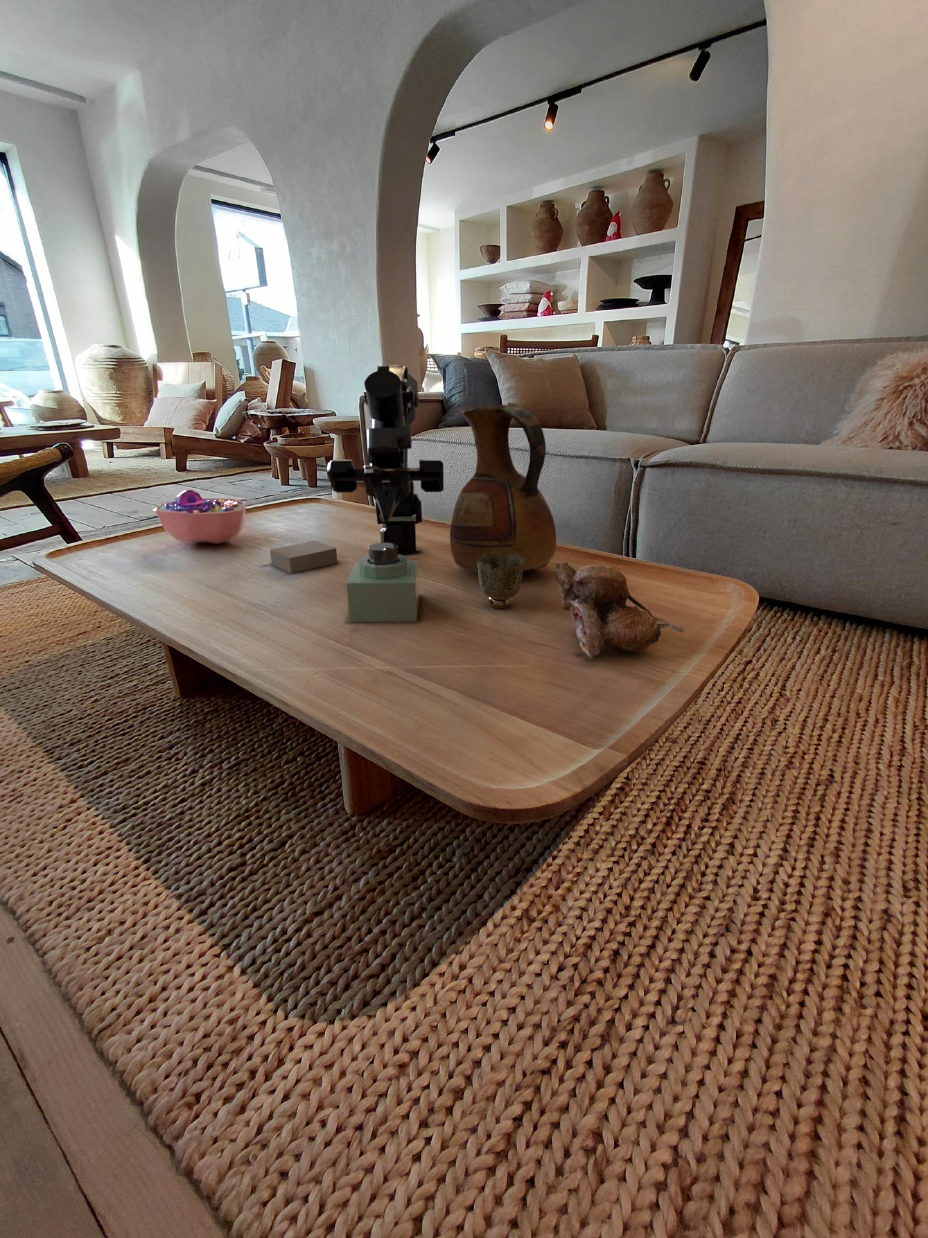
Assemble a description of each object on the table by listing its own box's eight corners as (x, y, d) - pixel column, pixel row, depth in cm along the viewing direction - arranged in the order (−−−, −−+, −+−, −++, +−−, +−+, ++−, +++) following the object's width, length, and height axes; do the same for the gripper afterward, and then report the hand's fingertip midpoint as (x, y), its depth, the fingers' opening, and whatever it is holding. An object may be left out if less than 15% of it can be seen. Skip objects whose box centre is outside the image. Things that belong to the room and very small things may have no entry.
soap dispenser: (359, 596, 96) (355, 550, 93) (419, 596, 96) (417, 549, 93) (349, 622, 86) (345, 571, 83) (416, 621, 86) (414, 570, 83)
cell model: (211, 558, 117) (201, 502, 112) (144, 546, 125) (132, 493, 120) (270, 538, 131) (264, 488, 126) (206, 529, 139) (198, 481, 134)
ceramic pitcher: (485, 549, 123) (488, 399, 111) (572, 566, 112) (585, 401, 100) (428, 572, 108) (424, 402, 96) (521, 594, 97) (530, 405, 86)
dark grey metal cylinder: (371, 558, 90) (370, 542, 89) (399, 558, 90) (398, 542, 89) (367, 567, 86) (366, 550, 85) (397, 566, 86) (396, 550, 85)
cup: (527, 600, 94) (529, 553, 91) (516, 617, 88) (518, 566, 85) (484, 595, 97) (484, 549, 93) (470, 611, 90) (470, 561, 87)
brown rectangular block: (316, 554, 119) (315, 540, 118) (337, 562, 114) (336, 548, 113) (271, 564, 113) (269, 549, 112) (291, 573, 107) (289, 558, 106)
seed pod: (578, 567, 89) (528, 559, 77) (685, 563, 79) (647, 552, 67) (576, 653, 89) (526, 657, 77) (683, 659, 79) (645, 665, 67)
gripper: (323, 407, 90) (317, 491, 85) (442, 407, 91) (443, 490, 85) (336, 452, 101) (331, 530, 95) (443, 452, 101) (444, 529, 96)
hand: (386, 519), depth 92 cm, fingers closed
